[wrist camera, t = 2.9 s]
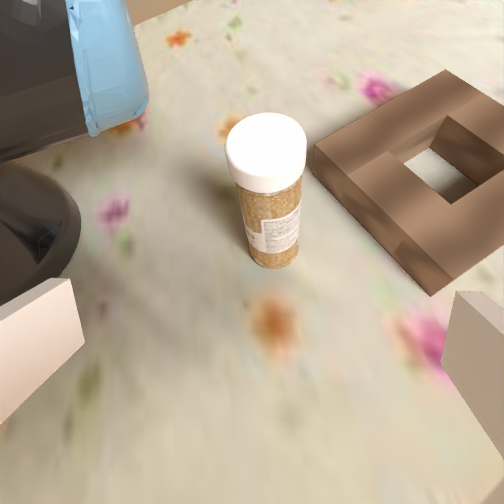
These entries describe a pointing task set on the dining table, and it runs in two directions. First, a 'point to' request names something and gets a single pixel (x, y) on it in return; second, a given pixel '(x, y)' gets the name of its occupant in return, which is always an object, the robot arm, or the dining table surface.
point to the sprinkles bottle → (268, 183)
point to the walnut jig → (416, 190)
